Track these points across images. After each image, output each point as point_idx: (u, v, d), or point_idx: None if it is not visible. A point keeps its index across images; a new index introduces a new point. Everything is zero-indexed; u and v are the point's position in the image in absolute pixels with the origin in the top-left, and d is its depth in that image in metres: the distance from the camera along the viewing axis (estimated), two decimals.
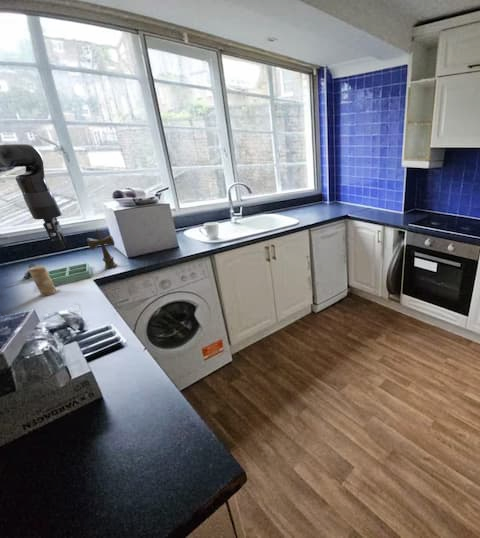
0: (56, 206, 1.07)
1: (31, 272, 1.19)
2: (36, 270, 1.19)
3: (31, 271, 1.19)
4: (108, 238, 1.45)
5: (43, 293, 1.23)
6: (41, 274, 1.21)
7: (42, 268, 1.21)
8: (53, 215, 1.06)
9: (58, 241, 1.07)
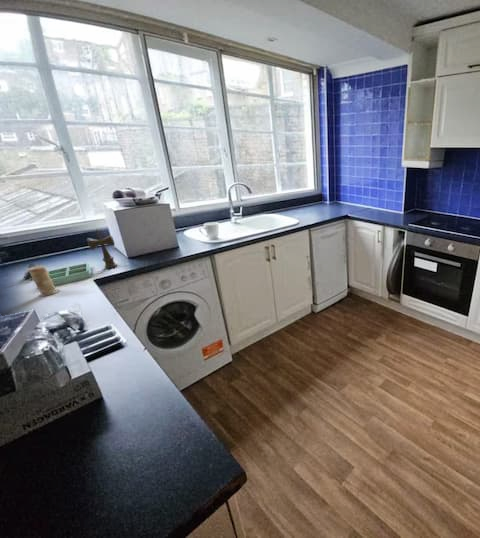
0: None
1: (31, 272, 1.19)
2: (36, 270, 1.19)
3: (31, 271, 1.19)
4: (108, 238, 1.45)
5: (43, 293, 1.23)
6: (41, 274, 1.21)
7: (42, 268, 1.21)
8: None
9: None
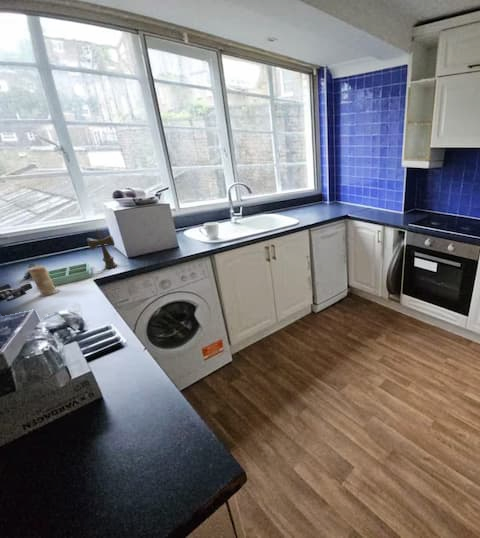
0: None
1: (31, 272, 1.19)
2: (36, 270, 1.19)
3: (31, 271, 1.19)
4: (108, 238, 1.45)
5: (43, 293, 1.23)
6: (41, 274, 1.21)
7: (42, 268, 1.21)
8: None
9: (23, 288, 1.12)
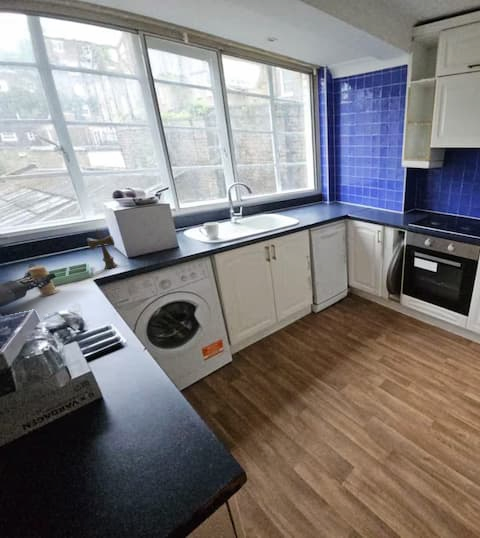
0: (5, 284, 1.09)
1: (31, 272, 1.19)
2: (36, 270, 1.19)
3: (31, 271, 1.19)
4: (108, 238, 1.45)
5: (43, 293, 1.23)
6: (41, 274, 1.21)
7: (42, 268, 1.21)
8: (20, 285, 1.12)
9: (48, 277, 1.22)
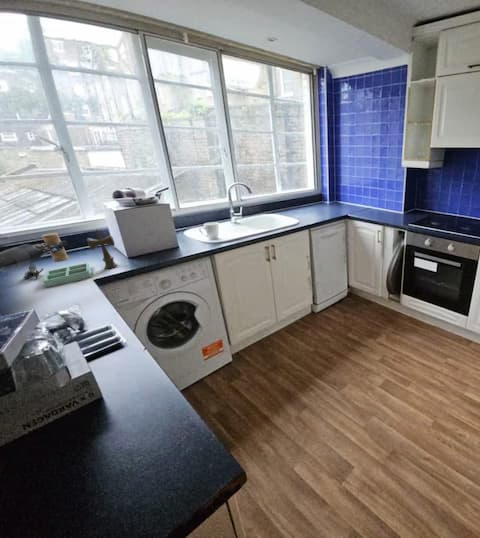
0: (21, 247, 1.16)
1: (45, 238, 1.25)
2: (49, 236, 1.26)
3: (45, 237, 1.25)
4: (108, 238, 1.45)
5: (56, 259, 1.29)
6: (54, 241, 1.27)
7: (55, 235, 1.27)
8: (35, 248, 1.19)
9: (61, 244, 1.28)
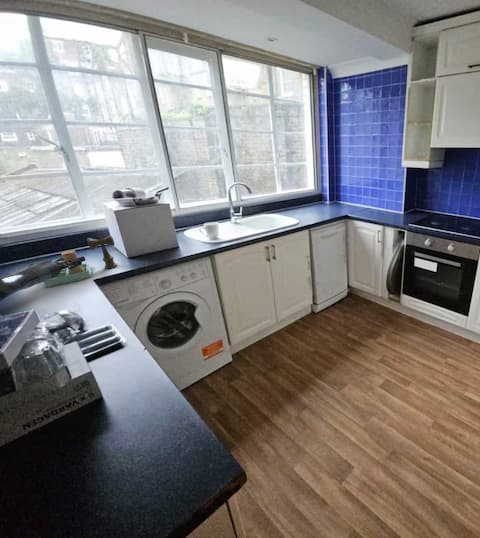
0: (43, 263, 1.24)
1: (64, 256, 1.34)
2: (68, 254, 1.34)
3: (64, 255, 1.33)
4: (108, 238, 1.45)
5: None
6: (73, 258, 1.35)
7: (73, 252, 1.36)
8: (55, 264, 1.27)
9: None
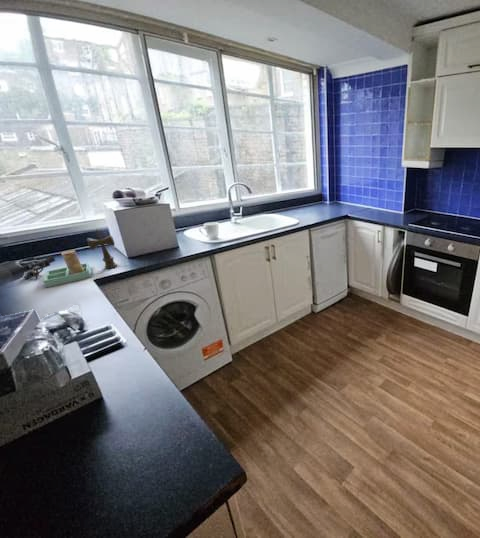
0: (3, 265, 1.10)
1: (64, 256, 1.34)
2: (68, 254, 1.34)
3: (64, 255, 1.33)
4: (108, 238, 1.45)
5: None
6: (73, 258, 1.35)
7: (73, 252, 1.36)
8: (18, 265, 1.13)
9: (47, 260, 1.22)
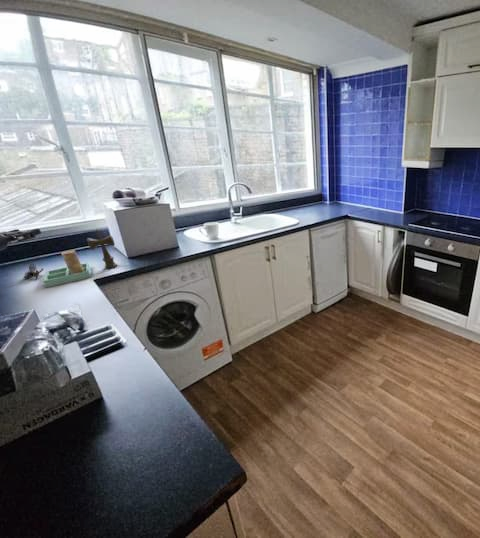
0: None
1: (64, 256, 1.34)
2: (68, 254, 1.34)
3: (64, 255, 1.33)
4: (108, 238, 1.45)
5: None
6: (73, 258, 1.35)
7: (73, 252, 1.36)
8: (0, 235, 1.08)
9: None
